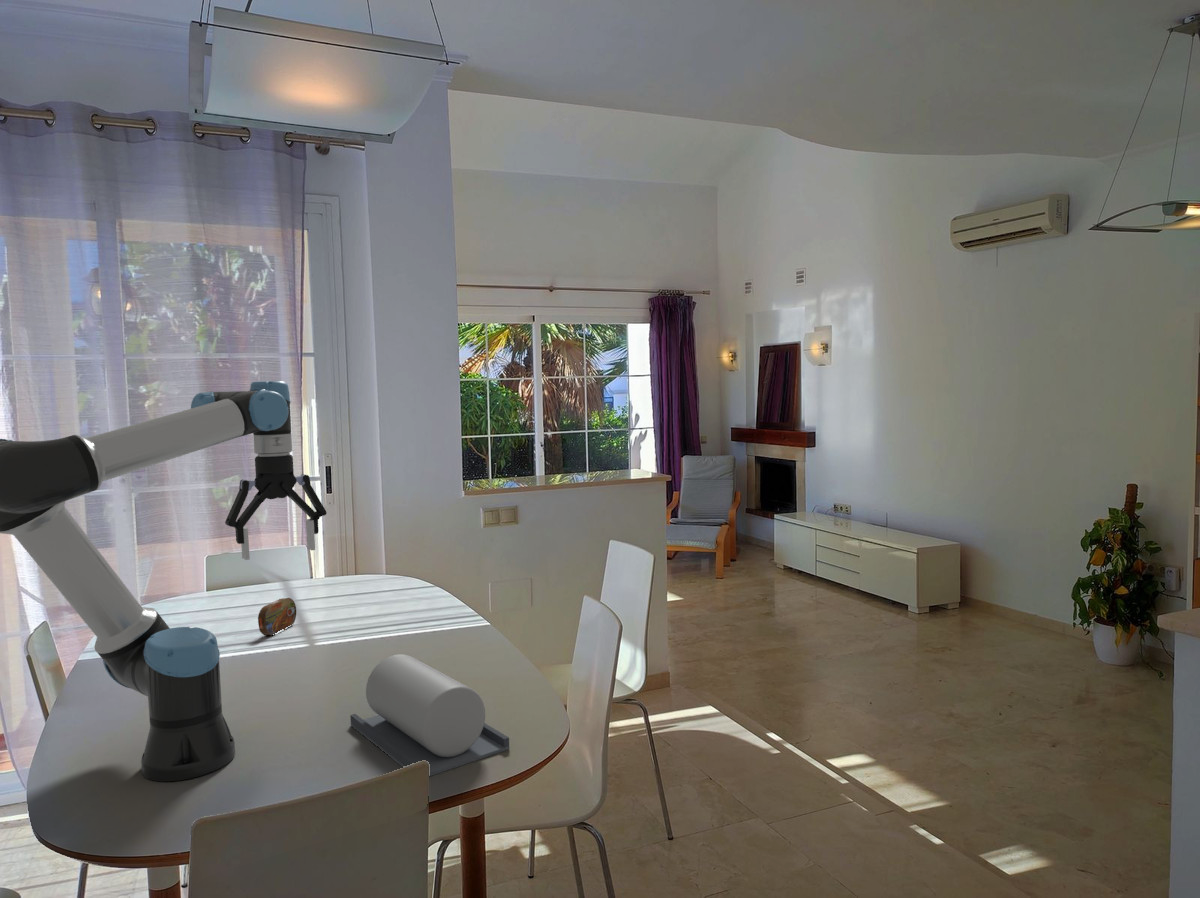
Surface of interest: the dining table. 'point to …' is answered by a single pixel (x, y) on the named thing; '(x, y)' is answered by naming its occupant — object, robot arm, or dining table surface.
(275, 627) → the tin
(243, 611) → the dining table surface
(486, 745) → the mat
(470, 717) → the cylinder vase
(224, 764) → the robot arm
